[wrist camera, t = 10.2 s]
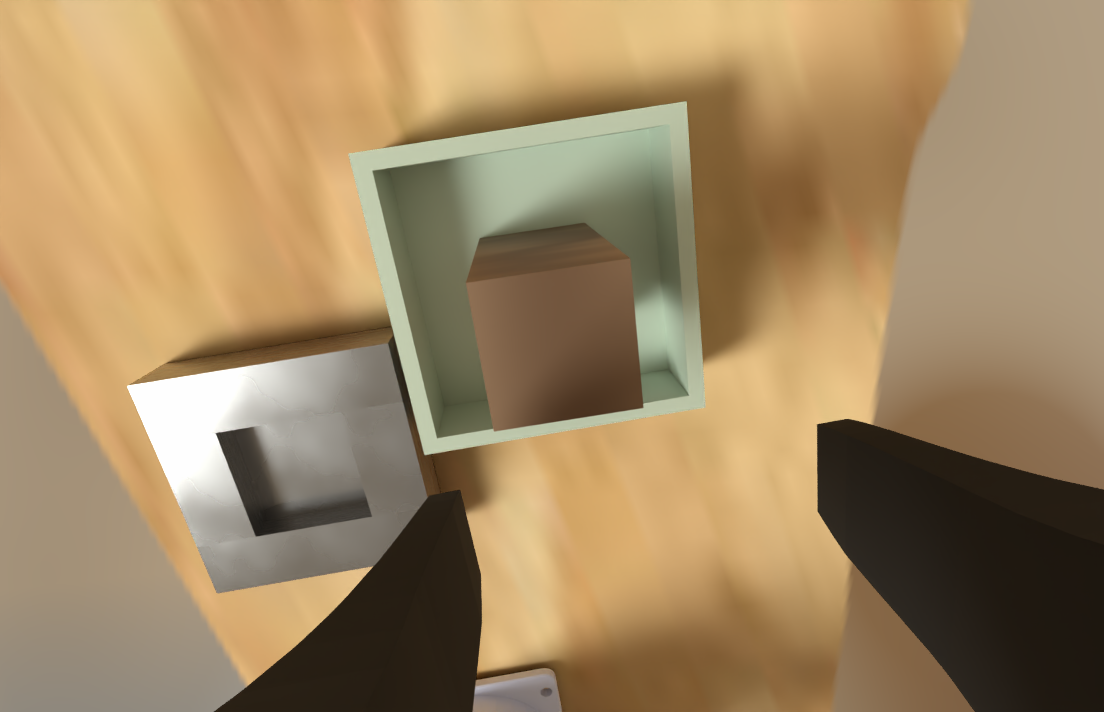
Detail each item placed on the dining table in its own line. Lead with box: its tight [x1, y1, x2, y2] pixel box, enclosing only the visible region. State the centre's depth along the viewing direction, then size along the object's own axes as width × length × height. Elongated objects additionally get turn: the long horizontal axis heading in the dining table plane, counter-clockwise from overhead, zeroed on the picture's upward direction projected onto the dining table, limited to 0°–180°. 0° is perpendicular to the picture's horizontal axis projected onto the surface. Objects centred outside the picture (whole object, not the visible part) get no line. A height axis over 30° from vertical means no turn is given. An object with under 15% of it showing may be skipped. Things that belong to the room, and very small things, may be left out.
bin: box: [349, 101, 705, 455], centre depth 18 cm, size 9×9×3 cm
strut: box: [466, 223, 644, 432], centre depth 15 cm, size 3×3×7 cm
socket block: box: [128, 327, 440, 593], centre depth 20 cm, size 8×8×2 cm
